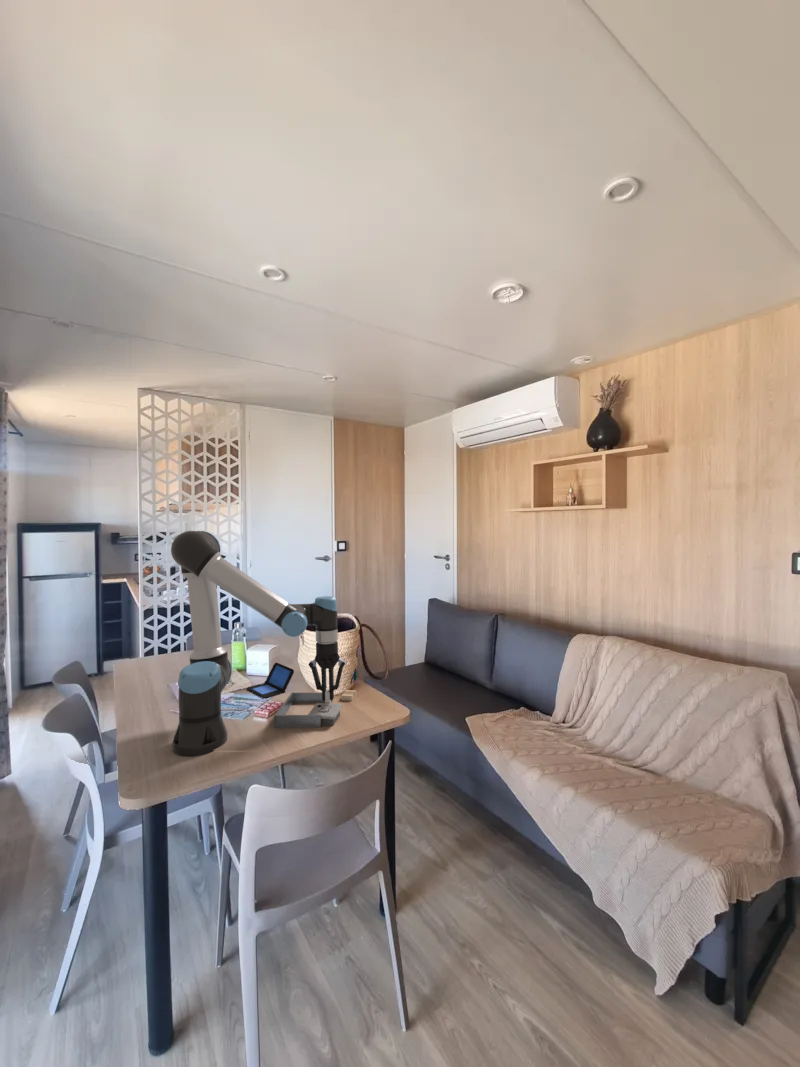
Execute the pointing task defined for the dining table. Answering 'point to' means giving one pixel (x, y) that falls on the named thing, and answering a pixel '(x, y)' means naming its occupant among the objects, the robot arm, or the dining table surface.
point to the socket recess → (298, 720)
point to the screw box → (348, 695)
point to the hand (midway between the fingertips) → (328, 709)
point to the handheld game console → (274, 682)
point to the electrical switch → (327, 712)
